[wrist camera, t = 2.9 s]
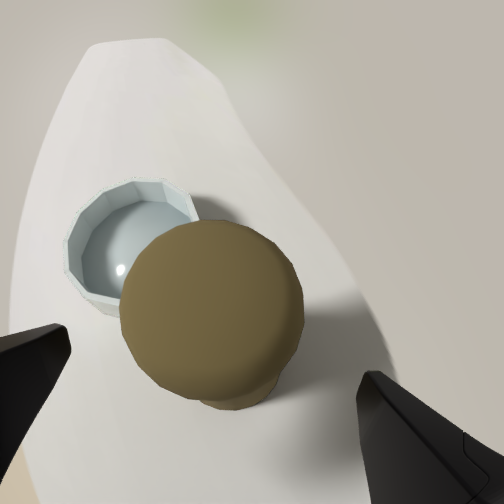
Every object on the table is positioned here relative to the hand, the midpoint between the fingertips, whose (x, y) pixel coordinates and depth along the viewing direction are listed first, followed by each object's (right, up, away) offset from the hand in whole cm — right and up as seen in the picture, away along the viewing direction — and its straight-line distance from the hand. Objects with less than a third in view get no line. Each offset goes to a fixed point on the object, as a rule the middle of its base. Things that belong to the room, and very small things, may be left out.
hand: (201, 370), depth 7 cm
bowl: (-7, +3, +12) cm, 14 cm away
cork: (0, -3, +9) cm, 9 cm away
